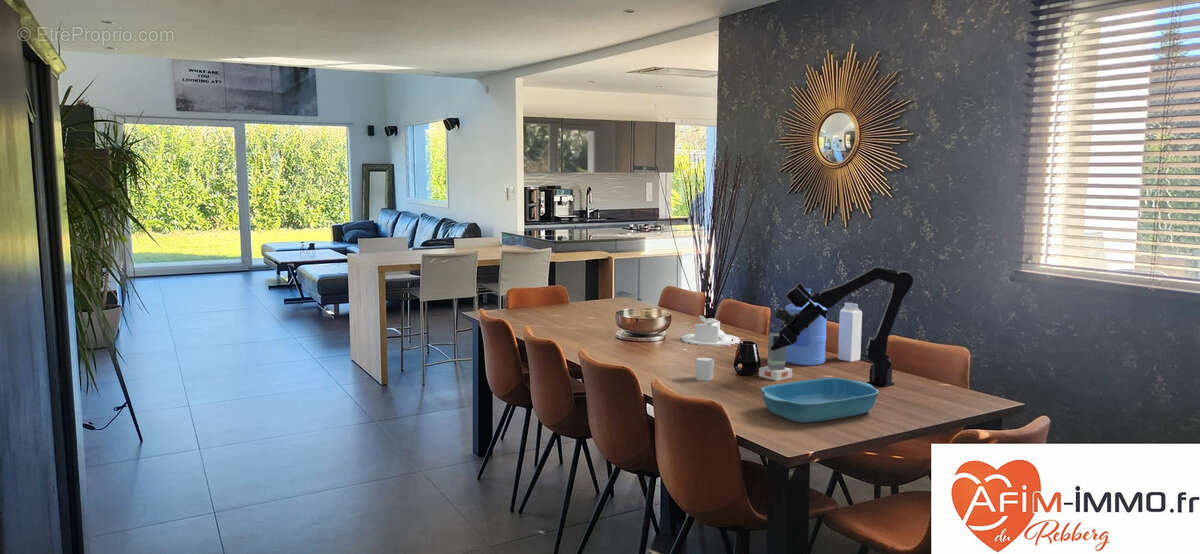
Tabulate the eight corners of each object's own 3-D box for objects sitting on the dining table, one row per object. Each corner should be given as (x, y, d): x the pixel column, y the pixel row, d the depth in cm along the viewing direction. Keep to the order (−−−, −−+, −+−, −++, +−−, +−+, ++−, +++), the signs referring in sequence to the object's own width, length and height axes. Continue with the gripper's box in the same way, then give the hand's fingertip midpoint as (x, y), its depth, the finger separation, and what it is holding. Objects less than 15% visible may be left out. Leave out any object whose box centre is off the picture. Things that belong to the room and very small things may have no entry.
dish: (725, 349, 333) (725, 322, 332) (671, 342, 347) (671, 316, 346) (748, 339, 354) (749, 314, 353) (697, 333, 368) (697, 309, 366)
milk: (850, 362, 309) (853, 304, 307) (837, 359, 314) (839, 302, 311) (860, 359, 313) (862, 303, 310) (847, 357, 318) (849, 301, 315)
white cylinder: (718, 378, 282) (718, 358, 281) (706, 382, 277) (706, 362, 276) (701, 375, 287) (702, 356, 286) (690, 378, 282) (690, 359, 281)
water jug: (810, 356, 319) (812, 285, 316) (833, 364, 305) (836, 290, 301) (775, 358, 315) (777, 287, 311) (797, 367, 300) (799, 292, 296)
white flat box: (792, 377, 284) (792, 369, 284) (776, 380, 279) (777, 372, 279) (774, 373, 290) (774, 364, 290) (758, 376, 285) (759, 368, 285)
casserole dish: (793, 430, 224) (794, 405, 224) (745, 409, 244) (746, 386, 243) (893, 414, 240) (894, 390, 239) (840, 396, 260) (841, 374, 259)
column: (785, 369, 283) (786, 335, 281) (772, 370, 282) (773, 336, 280) (780, 366, 287) (781, 333, 286) (767, 367, 286) (768, 333, 285)
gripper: (790, 296, 290) (758, 325, 294) (787, 304, 272) (753, 334, 276) (812, 319, 288) (780, 348, 293) (811, 328, 270) (776, 359, 275)
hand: (772, 347), depth 284 cm, fingers open, 9 cm apart
